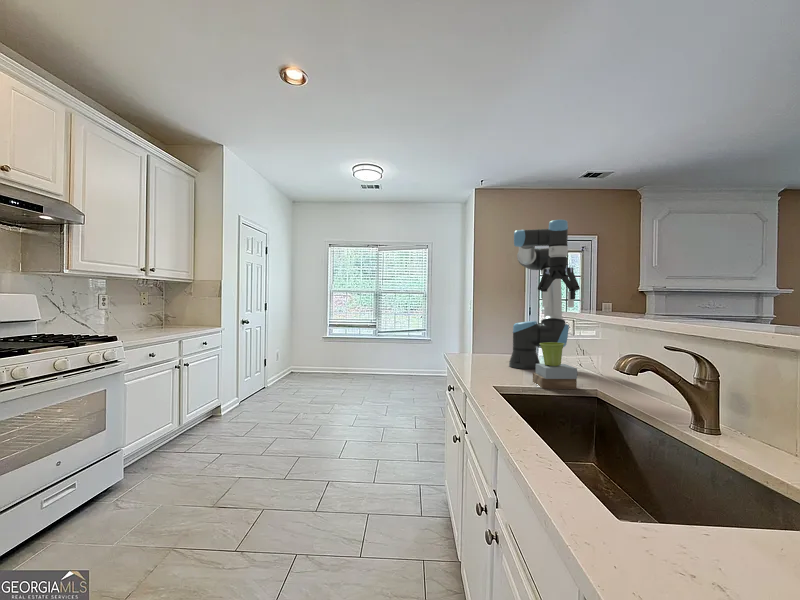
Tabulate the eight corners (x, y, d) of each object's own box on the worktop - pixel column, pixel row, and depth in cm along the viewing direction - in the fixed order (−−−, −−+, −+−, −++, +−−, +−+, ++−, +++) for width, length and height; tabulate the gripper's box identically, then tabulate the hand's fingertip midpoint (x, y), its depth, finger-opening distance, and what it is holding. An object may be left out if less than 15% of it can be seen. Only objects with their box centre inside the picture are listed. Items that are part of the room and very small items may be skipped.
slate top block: (535, 373, 171) (535, 363, 171) (564, 373, 171) (564, 363, 171) (545, 378, 159) (545, 368, 159) (577, 378, 159) (577, 368, 159)
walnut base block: (532, 383, 172) (532, 372, 172) (564, 383, 172) (564, 373, 172) (542, 390, 159) (542, 378, 159) (576, 390, 159) (576, 378, 159)
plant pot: (561, 363, 170) (560, 341, 170) (568, 366, 161) (567, 344, 161) (538, 363, 171) (537, 342, 171) (543, 367, 161) (542, 345, 162)
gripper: (529, 258, 185) (529, 306, 185) (576, 254, 163) (576, 308, 163) (541, 259, 188) (541, 305, 189) (589, 254, 166) (588, 307, 167)
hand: (557, 307), depth 176 cm, fingers open, 13 cm apart
